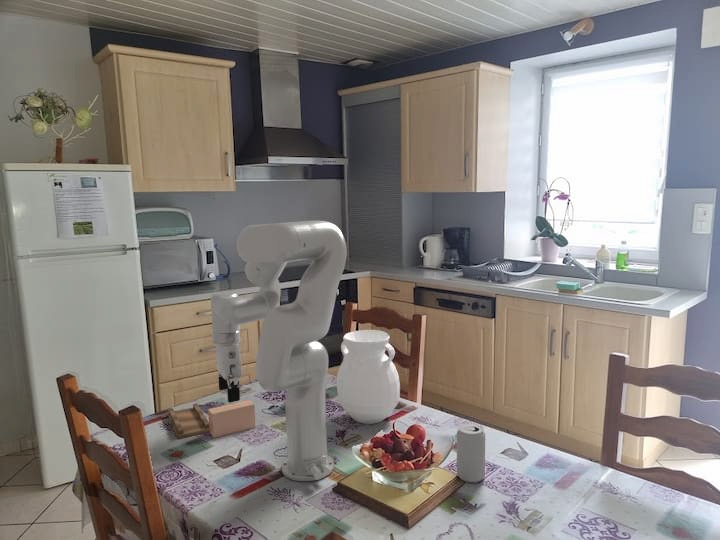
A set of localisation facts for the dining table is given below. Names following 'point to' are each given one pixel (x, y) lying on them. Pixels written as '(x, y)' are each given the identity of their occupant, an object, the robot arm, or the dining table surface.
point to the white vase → (368, 376)
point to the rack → (188, 421)
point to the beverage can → (471, 452)
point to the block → (231, 418)
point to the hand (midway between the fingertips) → (229, 395)
